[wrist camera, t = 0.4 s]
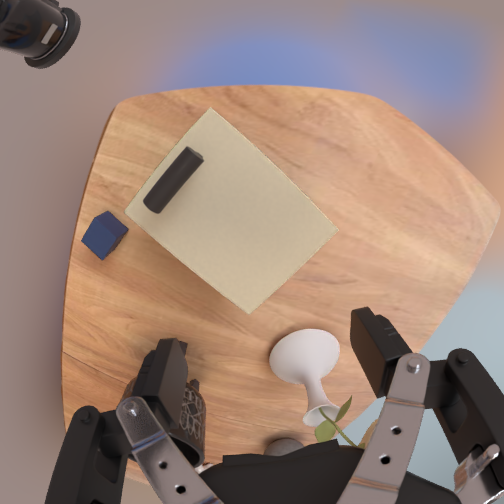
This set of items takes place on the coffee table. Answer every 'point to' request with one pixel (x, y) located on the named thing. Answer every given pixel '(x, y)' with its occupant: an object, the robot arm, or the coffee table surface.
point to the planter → (186, 421)
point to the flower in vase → (313, 378)
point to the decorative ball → (283, 447)
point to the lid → (229, 213)
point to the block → (104, 234)
